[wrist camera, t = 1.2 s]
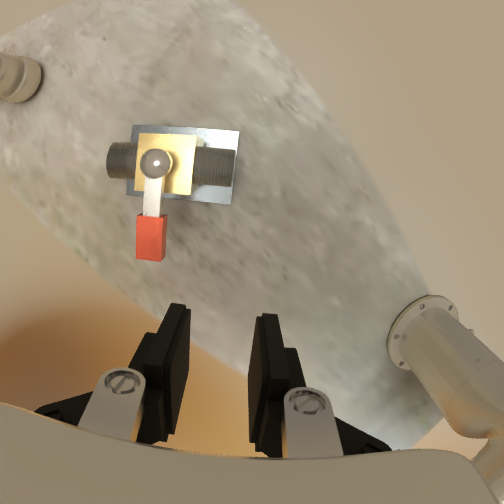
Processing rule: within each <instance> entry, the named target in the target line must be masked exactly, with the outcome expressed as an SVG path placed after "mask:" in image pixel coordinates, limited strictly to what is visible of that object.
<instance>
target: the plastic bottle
mask: <svg viewBox="0 0 504 504" xmlns="http://www.w3.org/2000/svg"><path fill="white" fill-rule="evenodd" d="M40 81H41V69H40V66H39V65H38V63H37V62H35V61H34V60H33V59H31V58H28V57H22V56H12V55H7V54H3V53H1V52H0V99H2V100H4V101H7V102H10V103H19V102H23V101H25V100H27V99H28V98H29V97H31V96H32V95H33V94H34V93H35V91H36V90H37V88H38V86H39V84H40Z"/></svg>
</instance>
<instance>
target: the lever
mask: <svg viewBox="0 0 504 504" xmlns="http://www.w3.org/2000/svg"><path fill="white" fill-rule="evenodd" d="M171 168H172V158H171V156H170V154H169V153H168V152H167V151H165V150H163V149H156V148H154V149H150V150H148V151H146V152H145V153H144V154H143V155H142V157H141V160H140V169H141V171H142V173H143V174H144V175H145V186H144V201H143V213H141V214H139V215H137V227H136V259H143V260H151V261H159V262H161V261H162V260H163V258H164V257H165V249H166V230H167V215H163V214H162V206H163V192H164V180H165V176H166V175H167V174H168V173H169V172H170V170H171Z"/></svg>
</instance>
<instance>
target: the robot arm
mask: <svg viewBox="0 0 504 504" xmlns="http://www.w3.org/2000/svg"><path fill="white" fill-rule="evenodd" d="M190 320H191V309H186V305H183V304H176V303H171V304H170V306H169V308H168V311H167V313H166V315H165V317H164V319H163V321H162V323H161V325H160V327H159V329H158V332H157V334H156V333H149V332H147V333H146V334H145V335H144V337H143V339H142V341H141V343H140V345H139V347H138V349H137V351H136V353H135V354H134V356H133V358H132V360H131V362H130V364H129V366H128V368H123V367H120V368H114V369H111V370H108V371H107V372H105V373H104V374H103V375H102V376H101V378H100V379H99V381H98V384H97V386H96V388H95V390H94V391H92V392H89V393H86V394H82V395H79V396H76V397H72V398H69V399H65V400H62V401H59V402H55V403H51V404H47V405H44V406H42V407H39V408H38V409H37V410H36V411H35V412H32V411H29V410H26V409H23V408H20V407H17V406H13V405H10V404H6V403H1V402H0V504H504V362H503V361H502V360H500V359H499V358H498V357H497V356H496V355H495V354H494V353H493V352H492V351H491V350H490V349H489V348H488V347H486V346H485V345H484V344H483V343H482V342H481V341H480V340H479V339H478V338H476V337H475V336H474V331H473V330H472V329H466V328H465V327H464V326H463V325H462V324H461V323H460V322H459V320H458V312H457V309H456V307H455V305H454V304H453V303H452V302H451V301H450V300H448V299H447V298H445V297H443V296H440V295H431V296H426V297H423V298H421V299H419V300H417V301H415V302H414V303H412V304H411V305H410V306H408V307H407V308H406V309H405V310H404V311H403V312H402V313H401V314H400V316H399V317H398V318H397V320H396V321H395V323H394V325H393V327H392V329H391V331H390V334H389V337H388V345H387V349H388V354H389V356H390V358H391V360H392V361H393V363H394V364H395V365H396V366H397V367H399V368H401V369H403V370H412V371H413V373H414V374H415V375H416V377H417V378H418V380H419V381H420V382H421V384H422V385H423V387H424V388H425V390H426V391H427V392H428V394H429V395H430V397H431V398H432V400H433V401H434V402H435V404H436V405H437V407H438V408H439V410H440V411H441V413H442V414H443V416H444V417H445V419H446V420H447V422H448V423H449V425H450V426H451V427H452V429H453V430H454V431H455V432H456V433H458V434H459V435H461V436H464V437H468V438H477V439H482V438H484V439H485V438H488V441H487V443H486V445H485V446H484V447H483V448H482V449H481V450H480V451H479V452H478V454H477V455H476V456H475V457H474V458H473V459H472V460H471V461H470V460H469V459H467V458H466V457H465V456H463V455H461V454H458V453H454V452H451V451H445V450H437V449H406V450H400V449H398V450H395V451H392V449H391V448H390V447H389V446H388V445H387V444H385V443H384V442H382V441H380V440H378V439H376V438H374V437H372V436H370V435H369V434H367V433H365V432H363V431H361V430H359V429H357V428H355V427H353V426H351V425H349V424H347V423H346V422H344V421H342V420H340V419H338V418H336V417H335V416H334V414H333V410H332V406H331V402H330V400H329V398H328V397H327V396H326V395H325V394H324V393H322V392H321V391H319V390H316V389H313V388H308V387H306V383H305V380H304V376H303V372H302V368H301V364H300V361H299V357H298V353H297V350H296V348H286V347H284V344H283V339H282V334H281V330H280V325H279V320H278V315H277V314H267V313H263V314H262V317H259V316H257V318H256V324H255V331H254V338H253V345H252V352H251V358H250V365H249V372H248V407H249V442H250V443H255V451H256V452H263V453H264V454H266V455H267V456H268V458H267V457H245V456H244V457H243V456H230V455H219V454H208V453H200V452H192V451H184V450H177V449H172V448H165V447H160V446H154V445H153V444H154V443H156V442H158V441H163V442H167V439H168V435H169V434H173V435H174V433H175V428H176V424H177V420H178V415H179V410H180V406H181V402H182V398H183V393H184V389H185V385H186V381H187V376H188V371H189V348H190Z"/></svg>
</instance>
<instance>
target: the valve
mask: <svg viewBox="0 0 504 504" xmlns="http://www.w3.org/2000/svg"><path fill="white" fill-rule="evenodd" d="M238 140H239V132H238V131H228V130H218V129H206V128H191V127H174V126H145V125H133V127H132V135H131V143H113V144H112V145H111V146H110V148H109V151H108V154H107V162H106V166H107V173H108V175H109V177H110V178H118V179H127V194H126V195H133V196H144V186H145V175H144V174H143V173H142V171H141V169H140V160H141V157H142V155H143V154H144V153H145V152H146V151H148V150H150V149H154V148H156V149H163V150H165V151H167V152H168V153H169V154H170V156H171V158H172V168H171V170H170V172H169V173H168V174H167V175H166V176H165V180H164V192H163V198H170V199H181V200H192V201H203V202H213V203H222V204H231V199H232V190H233V181H234V173H235V164H236V156H237V148H238Z"/></svg>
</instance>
